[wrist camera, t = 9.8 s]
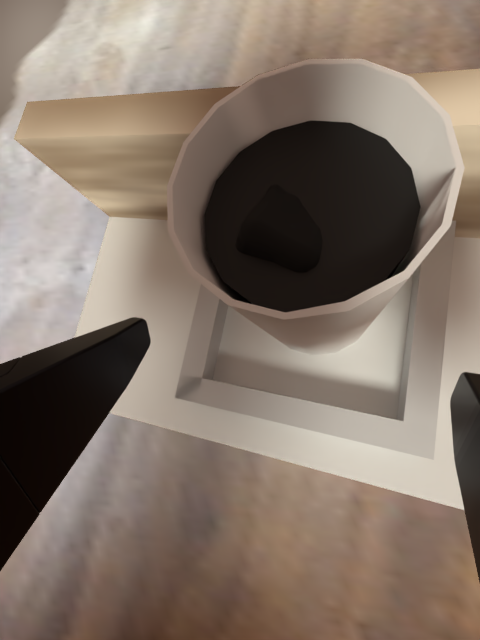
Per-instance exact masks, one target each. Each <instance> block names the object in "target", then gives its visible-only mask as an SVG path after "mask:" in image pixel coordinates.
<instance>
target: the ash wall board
mask: <svg viewBox="0 0 480 640" xmlns="http://www.w3.org/2000/svg"><path fill="white" fill-rule="evenodd" d="M405 75H408V76H410V77H413V78H414V79H415V80H416V81H417V82H418V83H419V84H420V85H421V86H422V87H423V88H424V89H425V90H426V91H427V92H428V93H429V94H430V95H431V96H432V97H433V98H434V99H435V100H436V101H437V103H438V104H439V105H440V106H441V107H442V108H443V109H444V110H445V111H446V112H447V113H448V114H449V115H450V118H451V121H452V125H453V128H454V132H455V135H456V139H457V143H458V146H459V150H460V153H461V157H462V160H463V164H464V167H465V168H464V172H463V176H462V181H461V185H460V189H459V193H458V197H457V202H456V206H455V210H454V214H453V219H452V221H456V227H455V237H464V238H480V69H471V70H457V71H444V72H430V73H416V74H405ZM239 87H240V86H239ZM239 87H225V88H212V89H198V90H185V91H171V92H157V93H144V94H130V95H116V96H103V97H89V98H76V99H62V100H48V101H35V102H27V104H26V107H25V110H24V113H23V115H22V118H21V121H20V124H19V126H18V129H17V132H16V135H15V137H14V139H15V140H16V141H17V142H19V143H20V144H21V145H22V146H23V147H25V148H26V149H27V150H28V151H30V152H31V153H32V154H33V155H35V156H36V157H37V158H38V159H39V160H41V161H42V162H43V163H44V164H46V165H47V166H48V167H49V168H50V169H52V170H53V171H54V172H55V173H57V174H58V175H59V176H60V177H62V178H63V179H64V180H65V181H66V182H68V183H69V184H70V185H71V186H73V187H74V188H75V189H76V190H78V191H79V192H80V193H81V194H82V195H84V196H85V197H86V198H87V199H89V200H90V201H91V202H92V203H94V204H95V205H96V206H97V207H98V208H100V209H101V210H102V211H103V212H105V213H106V214H107V215H108V216H109V217H123V218H140V219H157V220H168V212H167V185H168V182H169V179H170V177H171V174H172V171H173V169H174V166H175V163H176V161H177V158H178V155H179V153H180V150H181V147H182V145H183V142H184V141H185V140H186V138H187V137H188V136H189V135H190V133H191V132H192V131H193V130H194V129H195V127H196V126H197V125H198V124H199V122H200V121H201V120H202V119H203V118H204V116H205V115H206V114H207V113H208V111H209V110H210V109H211V108H212V106H213V105H214V104H215V103H217V102H218V101H220V100H221V99H223V98H224V97H226V96H227V95H229V94H230V93H232V92H233V91H234V90H236V89H237V88H239Z"/></svg>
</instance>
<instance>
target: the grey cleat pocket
mask: <svg viewBox="0 0 480 640" xmlns="http://www.w3.org/2000/svg"><path fill="white" fill-rule="evenodd" d="M455 227H456V221H452V223H451V226H450V228H449V229H448V230H447V231H446V233H445V234H444V235H443V236H442V238H441V239H440V240H439V241H438V243H437V244H436V245H435V246H434V248H433V249H432V250H431V251H430V252H429V254H428V255H427V256H426V257H425V259H424V260H423V261H422V262H421V264H420V265H419V266H418V267H417V269H416V270H415V271H414V272H413V274H412V275H411V276H410V277H409V278H408V280H407V281H406V282H405V283H404V285H403V286H402V287H401V288H400V289H399V291H398V292H397V293H396V294H395V295H394V297H393V298H392V299H391V300H390V302H389V303H388V304H387V305H386V306H385V308H384V309H383V310H382V311H381V312H380V314H379V315H378V316H377V317H376V318H375V320H374V321H373V322H372V323H371V325H370V326H369V327H368V328H367V329H366V331H365V332H364V333H363V334H362V336H361V337H360V338H359V339H358V341H357V342H355V343H353V344H351V345H349V346H348V347H346V348H344V349H342V350H340V351H338V352H336V353H330V354H320V355H309V354H306V353H302V352H299V351H295V350H292V349H290V348H288V347H287V346H285V345H284V344H283V343H281V342H280V341H278V340H277V339H275V338H274V337H273V336H271V335H270V334H268V333H267V332H265V331H264V330H263V329H261V328H260V327H258V326H257V325H255V324H254V323H253V322H251V321H250V320H248V319H247V318H245V317H244V316H243V315H241V314H240V313H238V312H237V311H235V310H234V309H233V308H231V307H230V306H228V305H227V304H226V303H224V302H223V301H222V300H221V299H219V298H218V297H217V296H216V295H214V294H213V293H212V292H211V291H209V290H208V289H207V288H206V287H204V286H203V285H202V284H201V283H199V282H198V281H197V280H196V279H194V278H193V277H192V276H191V275H189V274H188V272H187V270H186V268H185V266H184V264H183V262H182V260H181V258H180V256H179V254H178V251H177V249H176V247H175V245H174V243H173V241H172V239H171V237H170V235H169V233H168V220H157V219H140V218H123V217H110V218H109V221H108V225H107V228H106V231H105V235H104V238H103V242H102V245H101V248H100V252H99V255H98V259H97V262H96V266H95V269H94V272H93V276H92V279H91V283H90V286H89V289H88V293H87V296H86V300H85V303H84V307H83V310H82V313H81V317H80V320H79V324H78V327H77V330H76V334H75V337H78V336H81V335H84V334H87V333H89V332H92V331H95V330H98V329H101V328H103V327H106V326H109V325H112V324H115V323H117V322H120V321H123V320H126V319H129V318H132V317H137V318H143V319H145V320H146V322H147V325H148V330H149V334H150V339H151V343H150V347H149V349H148V350H147V352H146V354H145V356H144V358H143V360H142V361H141V363H140V365H139V367H138V369H137V370H136V372H135V374H134V376H133V378H132V379H131V381H130V383H129V385H128V386H127V388H126V389H125V391H124V392H123V393H122V395H121V396H120V398H119V399H118V401H117V402H116V404H115V405H114V407H113V408H112V409H111V411H110V412H109V413H111V414H115V415H118V416H122V417H126V418H129V419H133V420H137V421H140V422H144V423H148V424H151V425H155V426H159V427H162V428H166V429H169V430H173V431H177V432H180V433H184V434H188V435H191V436H195V437H199V438H202V439H206V440H210V441H213V442H217V443H221V444H224V445H228V446H232V447H235V448H239V449H243V450H246V451H250V452H254V453H257V454H261V455H265V456H268V457H272V458H276V459H279V460H283V461H287V462H290V463H294V464H298V465H301V466H305V467H309V468H312V469H316V470H320V471H323V472H327V473H331V474H334V475H338V476H342V477H345V478H349V479H352V480H356V481H360V482H363V483H367V484H371V485H374V486H378V487H382V488H385V489H389V490H393V491H396V492H400V493H404V494H407V495H411V496H415V497H418V498H422V499H426V500H429V501H433V502H437V503H440V504H444V505H448V506H451V507H455V508H459V509H462V510H464V505H463V500H462V496H461V491H460V486H459V481H458V476H457V472H456V466H455V461H454V451H453V437H452V423H451V410H450V400H451V395H452V393H453V391H454V388H455V386H456V383H457V381H458V379H459V376H460V375H461V374H462V373H463V372H470V373H476V374H480V238H464V237H455ZM75 337H74V338H75Z"/></svg>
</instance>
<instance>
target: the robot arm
mask: <svg viewBox="0 0 480 640" xmlns="http://www.w3.org/2000/svg"><path fill="white" fill-rule="evenodd" d="M150 343H151V339H150V334H149V330H148V325H147V322H146V320H145V319H143V318H137V317H132V318H129V319H126V320H123V321H120V322H117V323H115V324H112V325H109V326H106V327H103V328H101V329H98V330H95V331H92V332H89V333H87V334H84V335H81V336H78V337H75V338H72V339H70V340H67V341H64V342H61V343H58V344H56V345H53V346H50V347H47V348H44V349H41V350H39V351H36V352H33V353H30V354H27V355H25V356H22V357H21V358H20V357H19V358H16V359H13V360H10V361H8V362H5V363H2V364H0V571H1V569H2V568H3V566H4V565H5V564H6V562H7V561H8V559H9V558H10V556H11V555H12V553H13V552H14V550H15V549H16V548H17V546H18V545H19V543H20V542H21V540H22V539H23V537H24V536H25V534H26V533H27V532H28V530H29V529H30V527H31V526H32V524H33V523H34V521H35V520H36V519H37V517H38V516H39V513H40V512H41V511H42V509H43V508H44V507H45V505H46V504H47V502H48V501H49V499H50V498H51V496H52V495H53V494H54V492H55V491H56V489H57V488H58V486H59V485H60V483H61V482H62V480H63V479H64V478H65V476H66V475H67V473H68V472H69V470H70V469H71V467H72V466H73V465H74V463H75V462H76V460H77V459H78V457H79V456H80V454H81V453H82V451H83V450H84V449H85V447H86V446H87V444H88V443H89V441H90V440H91V438H92V437H93V436H94V434H95V433H96V431H97V430H98V428H99V427H100V425H101V424H102V422H103V421H104V420H105V418H106V417H107V415H108V414H109V412H110V411H111V409H112V408H113V407H114V405H115V404H116V402H117V401H118V399H119V398H120V396H121V395H122V393H123V392H124V391H125V389H126V388H127V386H128V385H129V383H130V381H131V379H132V378H133V376H134V374H135V372H136V370H137V369H138V367H139V365H140V363H141V361H142V360H143V358H144V356H145V354H146V352H147V350H148V349H149V347H150ZM450 410H451V423H452V437H453V451H454V461H455V466H456V472H457V476H458V481H459V486H460V491H461V496H462V500H463V505H464V510H465V515H466V520H467V524H468V529H469V534H470V539H471V543H472V548H473V553H474V558H475V563H476V567H477V572H478V577H479V582H480V374H476V373H470V372H463V373H462V374H461V375H460V376H459V379H458V381H457V383H456V386H455V388H454V391H453V393H452V395H451V400H450Z"/></svg>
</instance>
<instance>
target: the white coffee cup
mask: <svg viewBox="0 0 480 640" xmlns="http://www.w3.org/2000/svg"><path fill="white" fill-rule="evenodd" d="M464 168H465V167H464V164H463V160H462V157H461V153H460V150H459V146H458V143H457V139H456V135H455V132H454V128H453V125H452V121H451V118H450V115H449V114H448V113H447V112H446V111H445V110H444V109H443V108H442V107H441V106H440V105H439V104H438V103H437V101H436V100H435V99H434V98H433V97H432V96H431V95H430V94H429V93H428V92H427V91H426V90H425V89H424V88H423V87H422V86H421V85H420V84H419V83H418V82H417V81H416V80H415V79H414V78H413V77H410V76H408V75H405V74H402V73H400V72H397V71H394V70H391V69H389V68H386V67H383V66H381V65H378V64H375V63H373V62H370V61H367V60H364V59H306V60H303V61H300V62H297V63H294V64H291V65H287V66H284V67H281V68H278V69H275V70H272V71H269V72H265V73H262V74H259V75H257V76H255V77H254V78H252V79H251V80H249V81H248V82H246V83H245V84H243V85H242V86H240V87H239V88H237V89H236V90H234V91H233V92H232V93H230V94H229V95H227V96H226V97H224V98H223V99H221V100H220V101H218V102H217V103H215V104H214V105H213V106H212V108H211V109H210V110H209V111H208V113H207V114H206V115H205V116H204V118H203V119H202V120H201V121H200V122H199V124H198V125H197V126H196V127H195V129H194V130H193V131H192V132H191V133H190V135H189V136H188V137H187V138H186V140H185V141H184V142H183V145H182V147H181V150H180V153H179V155H178V158H177V161H176V163H175V166H174V169H173V171H172V174H171V177H170V179H169V182H168V185H167V212H168V233H169V235H170V237H171V239H172V241H173V243H174V245H175V247H176V249H177V251H178V254H179V256H180V258H181V260H182V262H183V264H184V266H185V268H186V270H187V272H188V274H189V275H191V276H192V277H193V278H194V279H196V280H197V281H198V282H199V283H201V284H202V285H203V286H204V287H206V288H207V289H208V290H209V291H211V292H212V293H213V294H214V295H216V296H217V297H218V298H219V299H221V300H222V301H223V302H224V303H226V304H227V305H228V306H230V307H231V308H233V309H234V310H235V311H237V312H238V313H240V314H241V315H243V316H244V317H245V318H247V319H248V320H250V321H251V322H253V323H254V324H255V325H257V326H258V327H260V328H261V329H263V330H264V331H265V332H267V333H268V334H270V335H271V336H273V337H274V338H275V339H277V340H278V341H280V342H281V343H283V344H284V345H285V346H287V347H288V348H290V349H292V350H295V351H299V352H302V353H306V354H309V355H320V354H330V353H336V352H338V351H340V350H342V349H344V348H346V347H348V346H349V345H351V344H353V343H355V342H357V341H358V339H359V338H360V337H361V336H362V334H363V333H364V332H365V331H366V329H367V328H368V327H369V326H370V325H371V323H372V322H373V321H374V320H375V318H376V317H377V316H378V315H379V314H380V312H381V311H382V310H383V309H384V308H385V306H386V305H387V304H388V303H389V302H390V300H391V299H392V298H393V297H394V295H395V294H396V293H397V292H398V291H399V289H400V288H401V287H402V286H403V285H404V283H405V282H406V281H407V280H408V278H409V277H410V276H411V275H412V274H413V272H414V271H415V270H416V269H417V267H418V266H419V265H420V264H421V262H422V261H423V260H424V259H425V257H426V256H427V255H428V254H429V252H430V251H431V250H432V249H433V248H434V246H435V245H436V244H437V243H438V241H439V240H440V239H441V238H442V236H443V235H444V234H445V233H446V231H447V230H448V229H449V228H450V226H451V223H452V219H453V214H454V210H455V206H456V202H457V197H458V193H459V189H460V185H461V181H462V176H463V172H464Z"/></svg>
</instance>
